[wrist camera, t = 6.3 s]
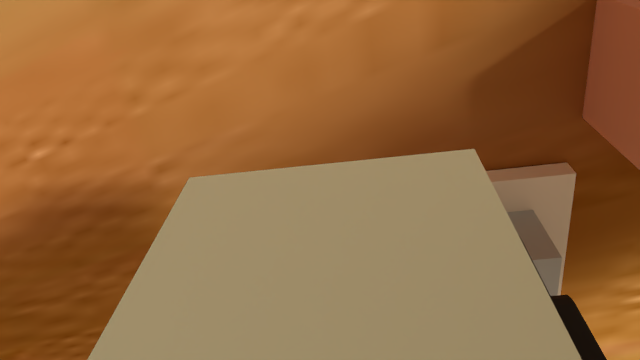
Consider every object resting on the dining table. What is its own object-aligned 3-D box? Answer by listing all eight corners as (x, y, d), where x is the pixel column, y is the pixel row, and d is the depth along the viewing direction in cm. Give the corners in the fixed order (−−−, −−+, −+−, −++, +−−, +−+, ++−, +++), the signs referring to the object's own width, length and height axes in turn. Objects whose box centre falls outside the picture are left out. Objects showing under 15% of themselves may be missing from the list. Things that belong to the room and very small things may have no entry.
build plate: (360, 184, 27) (364, 241, 22) (566, 162, 26) (614, 217, 21) (378, 324, 32) (383, 393, 28) (549, 312, 31) (584, 381, 27)
